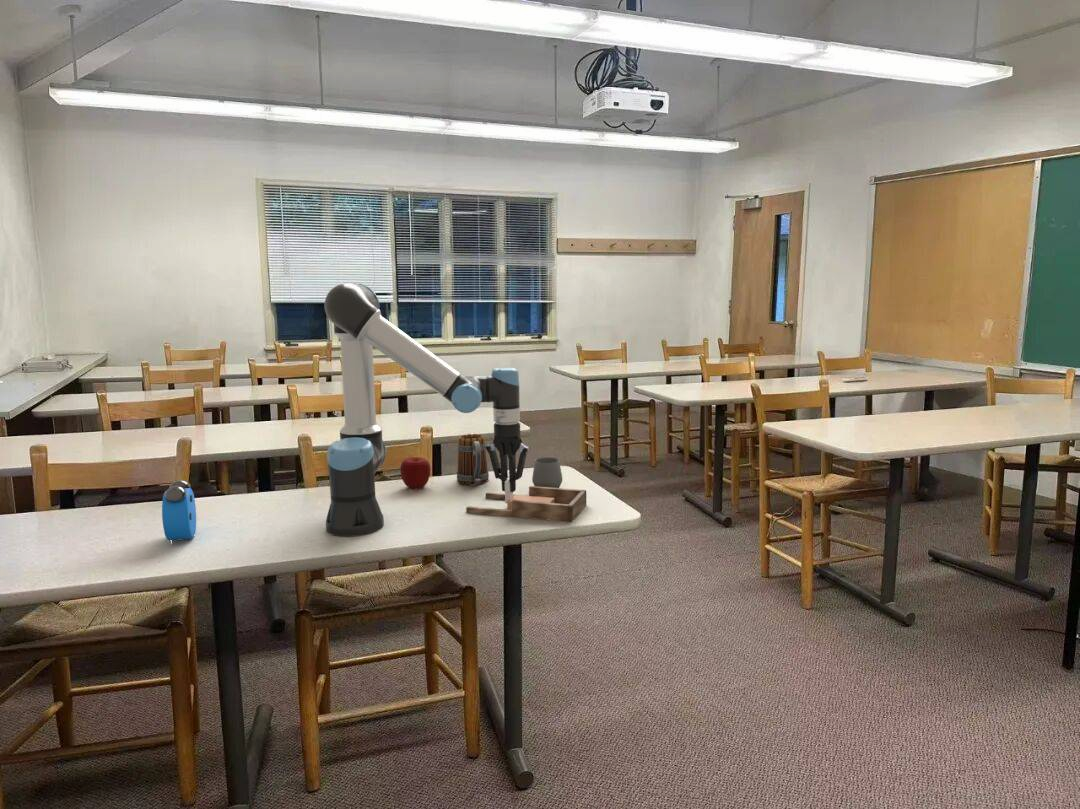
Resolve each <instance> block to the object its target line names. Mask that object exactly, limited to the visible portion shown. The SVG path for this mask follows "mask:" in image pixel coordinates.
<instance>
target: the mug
mask: <svg viewBox="0 0 1080 809" xmlns="http://www.w3.org/2000/svg"><path fill="white" fill-rule="evenodd" d="M486 446H487V445H486V441H485V437H484V435H482V434H480V433H479V434H477V433H473V434H471V433H469V434H462V435H459V436H458V443H457V450H458V452H457V472H456V480H457V482H458V483H459V484H461V485H465V486H466V485H467V486H475V485H477V486H478V485H482V484H485V483H487V482H488V481H489V477H490V473H489V468H488V462H487V461H488V460H487V450H486Z"/></svg>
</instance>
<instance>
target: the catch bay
mask: <svg viewBox="0 0 1080 809" xmlns="http://www.w3.org/2000/svg"><path fill="white" fill-rule="evenodd" d="M514 495H517V494H514V493H513V496H514ZM518 495H519V496H532V497H535V496H536V497H548V498H554V503H545V502H533V501H521V500H513V501H512V510H508V509H507V508H506V509H505V508H494V507H481V506H479V507H478V506H471V505H470V506H469V505H467V506H466V507H465V512H466V513H467V514H479V515H488V516H489V515H490V516H501V517H502V516H503V517H512V518H521V519H535V520H543V521H544V520H546V521H554V522H566V523H567V522H568V523H573V522H574V520H575V519H576V518H577V517H578V516H579V515H580V513H581V512H582V511H583V510H584V508H585V507H586V506H587V490H586V489H577V488H576V489H575V488H563V487H562V488H561V487H559V488H551V487H538V486H533V485H529V487H528V495H526V494H518ZM485 499H494V500H504V501H505V492H503V493H501V492H489V491H488V492H485Z"/></svg>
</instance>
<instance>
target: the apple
mask: <svg viewBox="0 0 1080 809" xmlns="http://www.w3.org/2000/svg"><path fill="white" fill-rule="evenodd" d="M399 467H400V468H399V469H400V470H399V471H400V477H401V480H402V481H403V483H404V486H406V487H407V488H408V489H411V490H418V489H423V488H424V487H426V485H427V483H428V481H429V480H430V476H431V465H430V462H429V461H428V460H427V459H426V458H424V457H421V456H412V457H407V458H405V459H403V460H402V462H401V463H400V466H399Z"/></svg>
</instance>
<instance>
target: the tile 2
mask: <svg viewBox="0 0 1080 809" xmlns="http://www.w3.org/2000/svg"><path fill="white" fill-rule="evenodd" d="M530 501H533V502H545V503H554V498H548V497H536V496H535V497H533V498H532V499H531V500H530Z"/></svg>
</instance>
